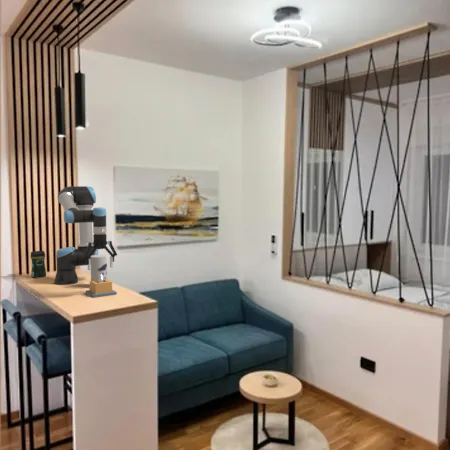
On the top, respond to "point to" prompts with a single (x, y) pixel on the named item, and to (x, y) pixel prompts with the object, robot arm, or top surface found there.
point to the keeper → (100, 280)
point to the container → (98, 266)
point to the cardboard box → (100, 286)
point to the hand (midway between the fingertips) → (100, 268)
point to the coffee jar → (38, 264)
